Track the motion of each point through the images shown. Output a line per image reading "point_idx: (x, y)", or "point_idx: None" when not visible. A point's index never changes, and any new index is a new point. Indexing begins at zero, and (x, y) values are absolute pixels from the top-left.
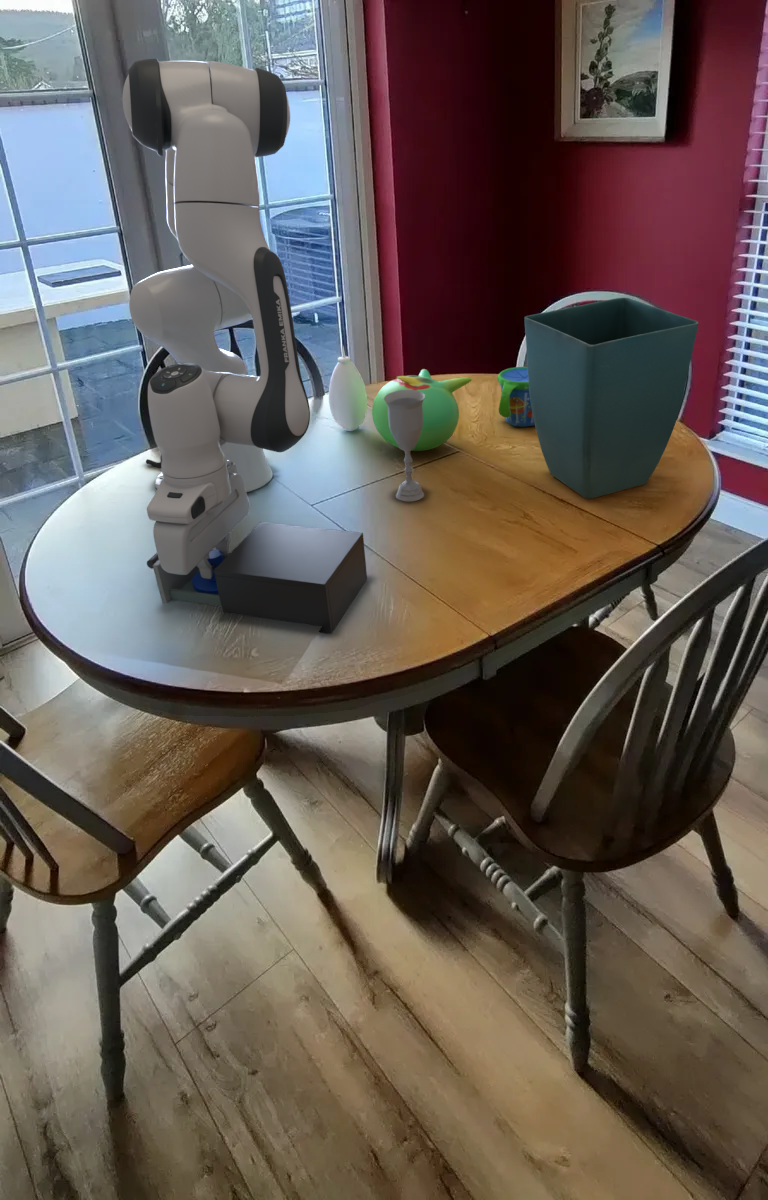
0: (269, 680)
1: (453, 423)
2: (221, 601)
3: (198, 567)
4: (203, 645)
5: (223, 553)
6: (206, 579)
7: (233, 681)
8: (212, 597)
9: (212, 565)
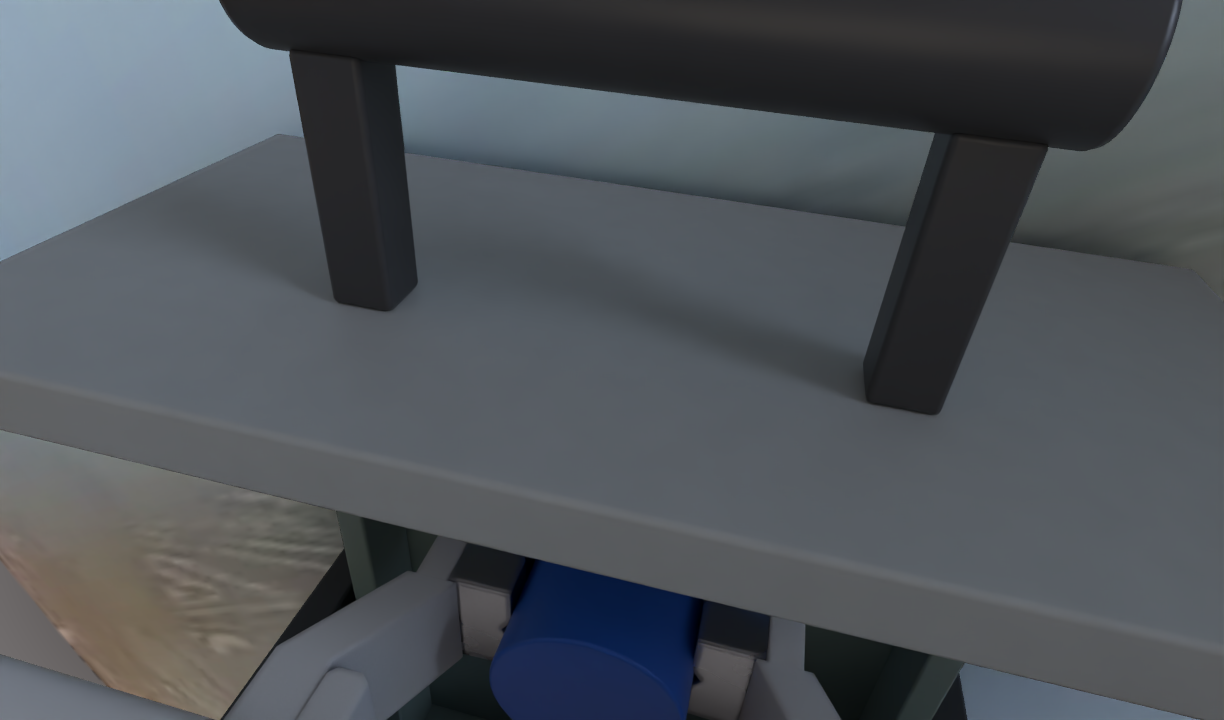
0: (141, 682)
1: None
2: (299, 616)
3: (401, 577)
4: (151, 474)
5: (710, 712)
6: None
7: (69, 600)
8: (345, 548)
9: (486, 655)
